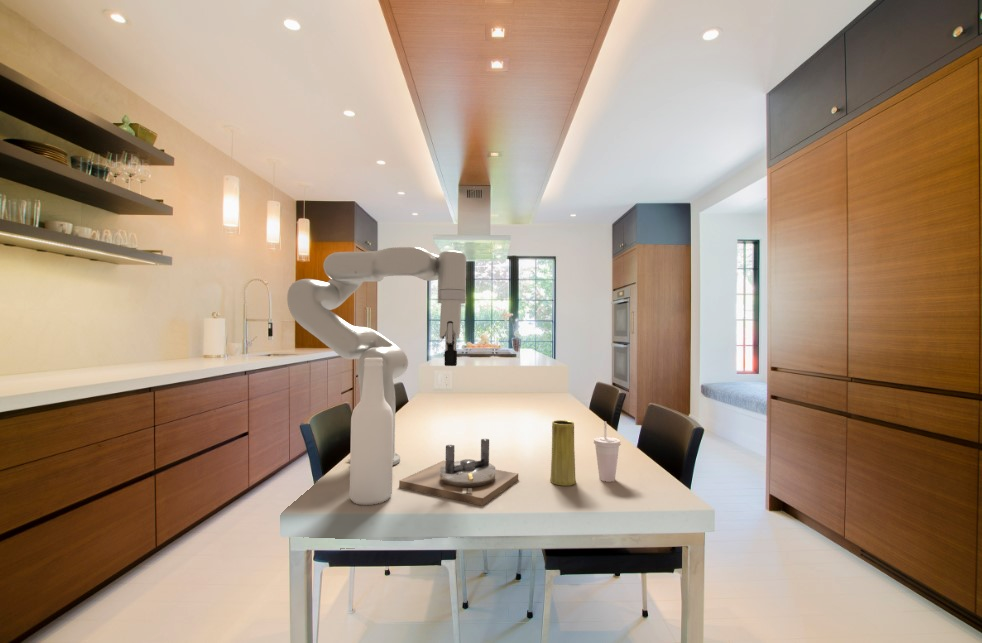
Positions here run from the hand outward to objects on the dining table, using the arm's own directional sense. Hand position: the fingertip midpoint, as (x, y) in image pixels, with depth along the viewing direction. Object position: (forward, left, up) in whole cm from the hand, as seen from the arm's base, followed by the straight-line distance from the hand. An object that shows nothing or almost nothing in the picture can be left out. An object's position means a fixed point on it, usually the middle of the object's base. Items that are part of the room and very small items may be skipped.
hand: (450, 365), depth 112 cm
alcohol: (-3, -26, -27) cm, 38 cm away
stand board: (+9, -9, -27) cm, 30 cm away
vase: (+30, +4, -27) cm, 41 cm away
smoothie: (+39, +11, -27) cm, 49 cm away
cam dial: (+12, -9, -25) cm, 29 cm away
